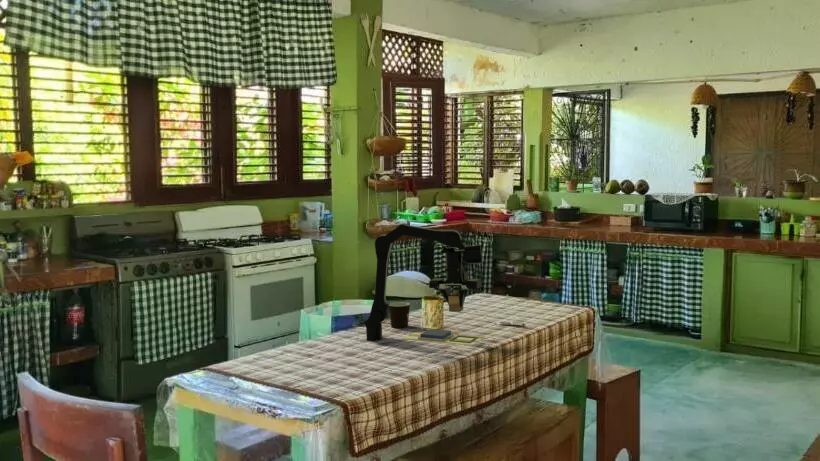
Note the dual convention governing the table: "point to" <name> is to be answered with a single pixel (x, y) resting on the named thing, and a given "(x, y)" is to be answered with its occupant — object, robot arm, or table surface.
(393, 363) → the table surface
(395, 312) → the coffee mug
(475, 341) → the station board
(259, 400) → the table surface
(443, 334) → the ink pad
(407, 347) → the table surface
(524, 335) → the table surface
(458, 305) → the stamp
